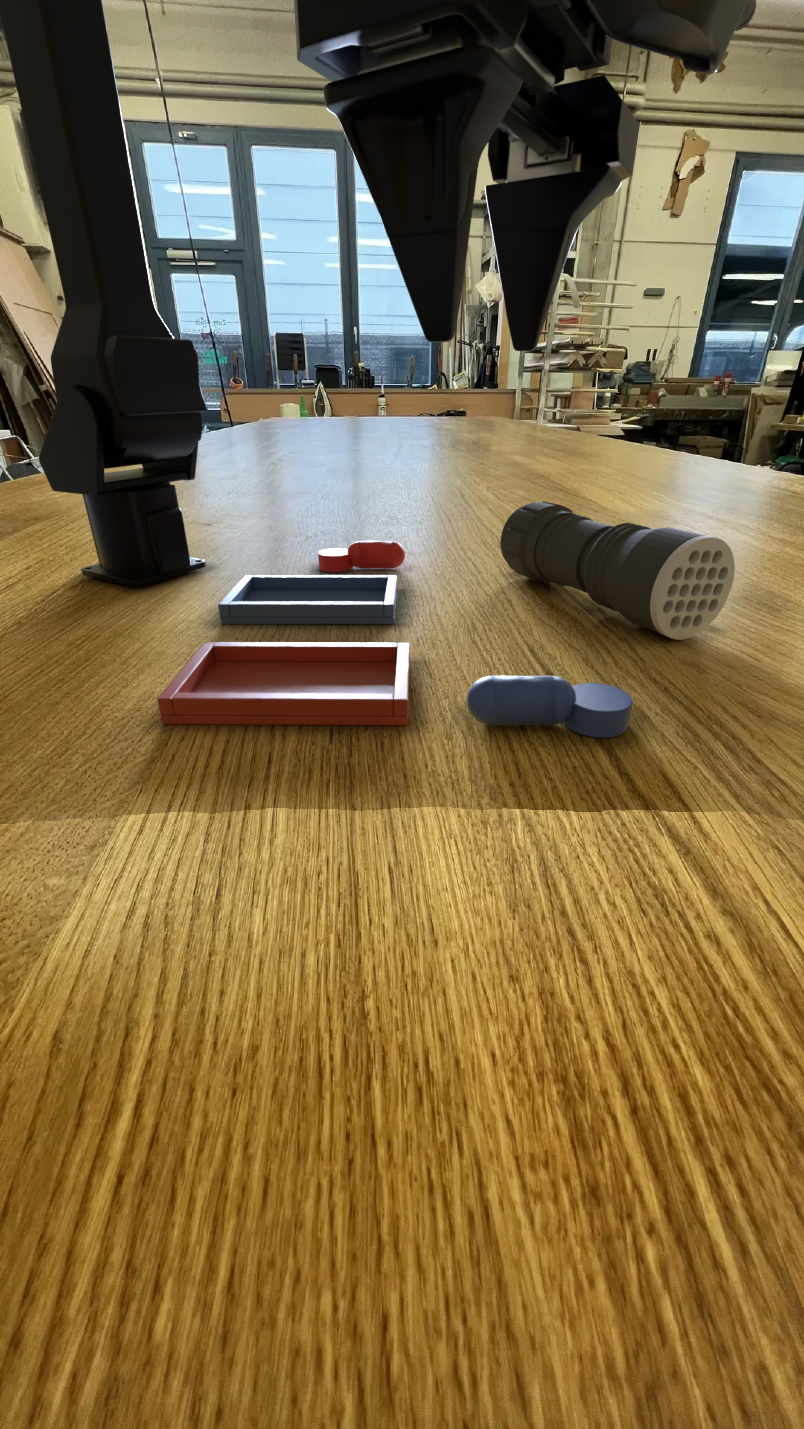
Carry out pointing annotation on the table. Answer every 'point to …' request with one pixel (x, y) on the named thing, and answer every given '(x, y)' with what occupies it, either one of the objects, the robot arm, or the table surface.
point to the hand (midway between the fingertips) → (487, 346)
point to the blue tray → (311, 600)
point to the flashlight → (624, 566)
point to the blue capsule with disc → (550, 704)
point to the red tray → (291, 684)
